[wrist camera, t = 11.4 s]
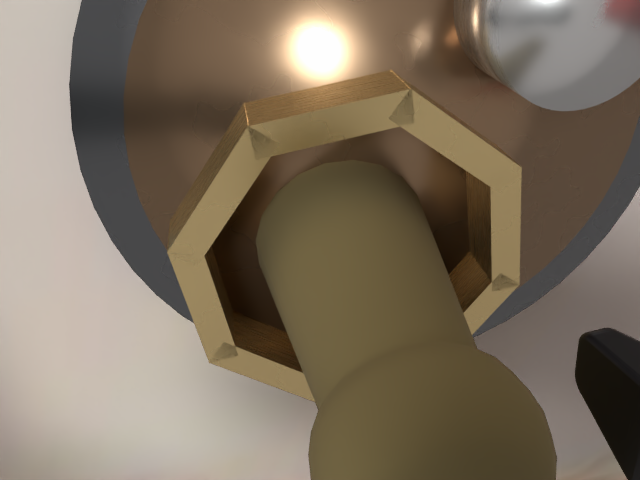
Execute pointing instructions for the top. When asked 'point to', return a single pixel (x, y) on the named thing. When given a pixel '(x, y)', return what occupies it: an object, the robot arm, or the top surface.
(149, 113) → the carrier plate
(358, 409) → the olive pestle
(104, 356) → the top surface
